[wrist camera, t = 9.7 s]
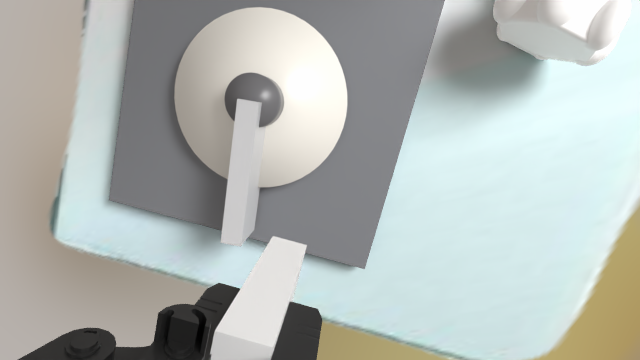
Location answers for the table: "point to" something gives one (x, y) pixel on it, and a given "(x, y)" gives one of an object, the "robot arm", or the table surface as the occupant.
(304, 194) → the dial base
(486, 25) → the table surface
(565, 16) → the white bone
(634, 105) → the table surface
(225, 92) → the dial
